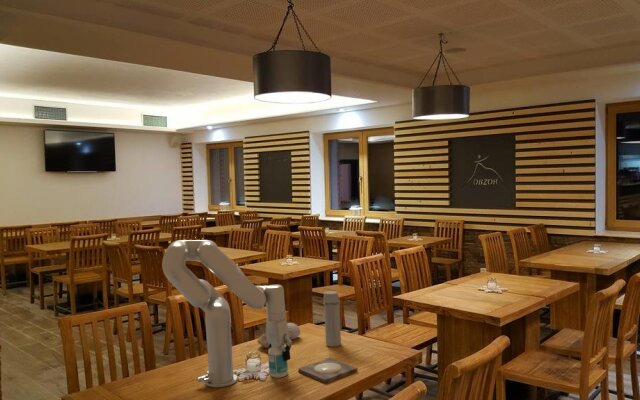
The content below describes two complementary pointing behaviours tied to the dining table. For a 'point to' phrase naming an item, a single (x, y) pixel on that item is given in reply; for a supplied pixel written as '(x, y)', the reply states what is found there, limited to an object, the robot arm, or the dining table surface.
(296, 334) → the decorative item
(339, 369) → the serving board
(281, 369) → the pill bottle
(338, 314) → the water bottle
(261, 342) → the oil lamp
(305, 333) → the dining table surface
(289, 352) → the robot arm
